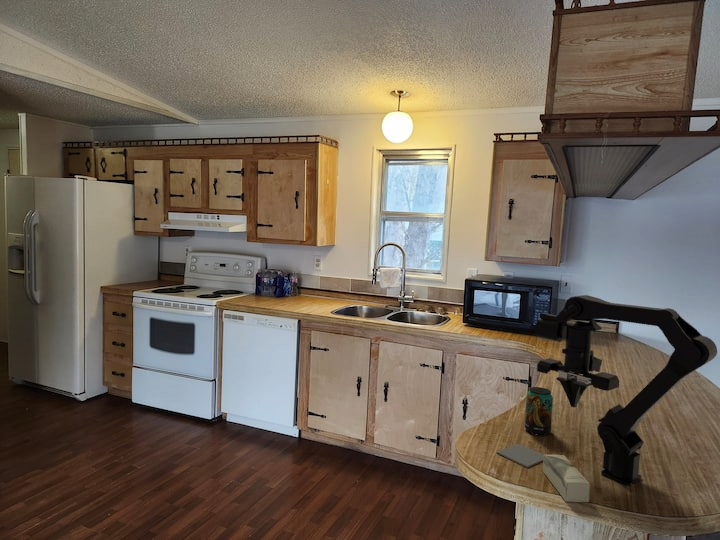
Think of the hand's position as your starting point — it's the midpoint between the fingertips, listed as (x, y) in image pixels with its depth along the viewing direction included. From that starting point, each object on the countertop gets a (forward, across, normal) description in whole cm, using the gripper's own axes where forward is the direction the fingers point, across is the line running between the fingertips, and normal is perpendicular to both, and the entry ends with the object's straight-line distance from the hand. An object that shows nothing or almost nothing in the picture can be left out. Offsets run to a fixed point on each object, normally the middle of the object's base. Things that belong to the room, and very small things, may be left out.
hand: (573, 406), depth 120 cm
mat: (+13, +7, +10) cm, 18 cm away
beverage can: (+13, +14, -7) cm, 21 cm away
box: (+11, -2, +11) cm, 16 cm away
